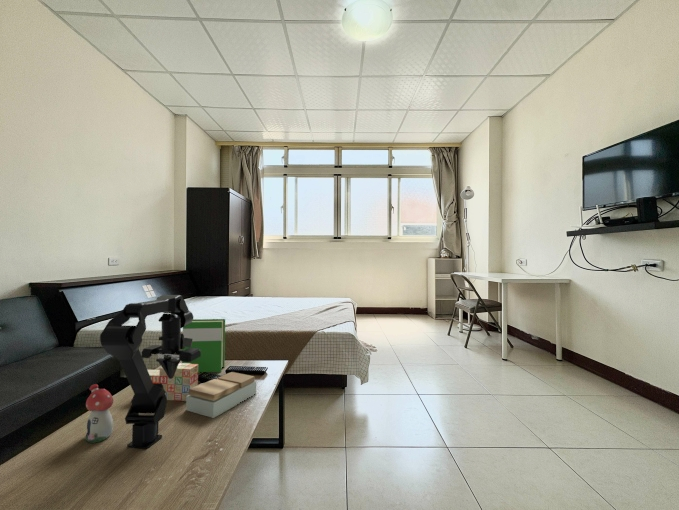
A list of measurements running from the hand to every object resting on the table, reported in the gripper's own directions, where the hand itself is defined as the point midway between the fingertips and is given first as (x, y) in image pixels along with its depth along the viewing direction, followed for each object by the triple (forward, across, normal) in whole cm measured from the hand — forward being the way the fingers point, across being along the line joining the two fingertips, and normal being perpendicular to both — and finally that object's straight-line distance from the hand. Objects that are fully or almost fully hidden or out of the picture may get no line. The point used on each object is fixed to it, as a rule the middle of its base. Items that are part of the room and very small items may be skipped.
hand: (171, 378), depth 108 cm
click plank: (+8, -9, -11) cm, 16 cm away
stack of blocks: (+14, +13, -14) cm, 24 cm away
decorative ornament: (+13, +13, +15) cm, 24 cm away
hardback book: (+16, +18, -44) cm, 50 cm away
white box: (+14, -10, -15) cm, 23 cm away
